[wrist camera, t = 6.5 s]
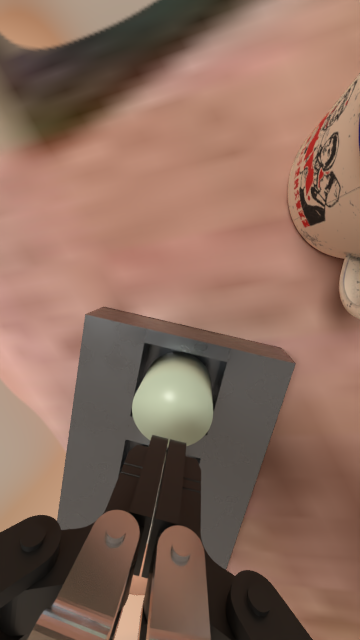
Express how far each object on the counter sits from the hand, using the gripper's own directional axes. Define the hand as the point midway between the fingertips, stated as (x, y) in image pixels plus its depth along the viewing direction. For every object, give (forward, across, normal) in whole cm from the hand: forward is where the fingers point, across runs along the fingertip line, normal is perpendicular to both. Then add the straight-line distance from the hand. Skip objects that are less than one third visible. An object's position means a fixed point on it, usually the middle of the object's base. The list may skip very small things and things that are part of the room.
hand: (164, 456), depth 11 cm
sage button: (+7, 0, 0) cm, 7 cm away
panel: (+9, 0, +7) cm, 11 cm away
